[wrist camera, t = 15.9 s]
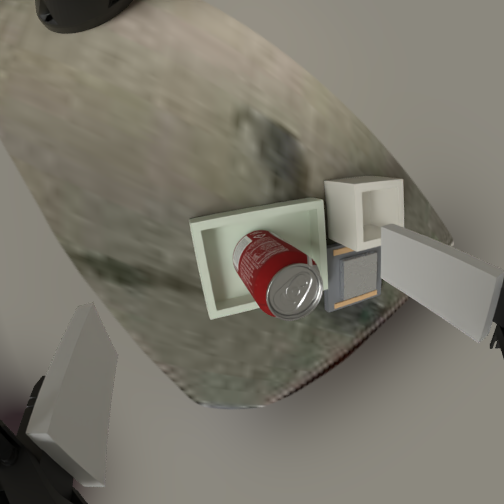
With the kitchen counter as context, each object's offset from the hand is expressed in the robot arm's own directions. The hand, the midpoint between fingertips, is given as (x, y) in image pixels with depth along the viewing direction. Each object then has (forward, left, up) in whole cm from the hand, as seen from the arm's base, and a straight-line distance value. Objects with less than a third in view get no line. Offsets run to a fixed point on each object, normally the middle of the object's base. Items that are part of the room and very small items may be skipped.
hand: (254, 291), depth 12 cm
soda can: (+7, +6, -23) cm, 25 cm away
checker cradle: (+13, +21, -24) cm, 34 cm away
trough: (+7, +7, -24) cm, 25 cm away
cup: (+3, +21, -24) cm, 31 cm away
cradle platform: (+13, +21, -22) cm, 33 cm away
